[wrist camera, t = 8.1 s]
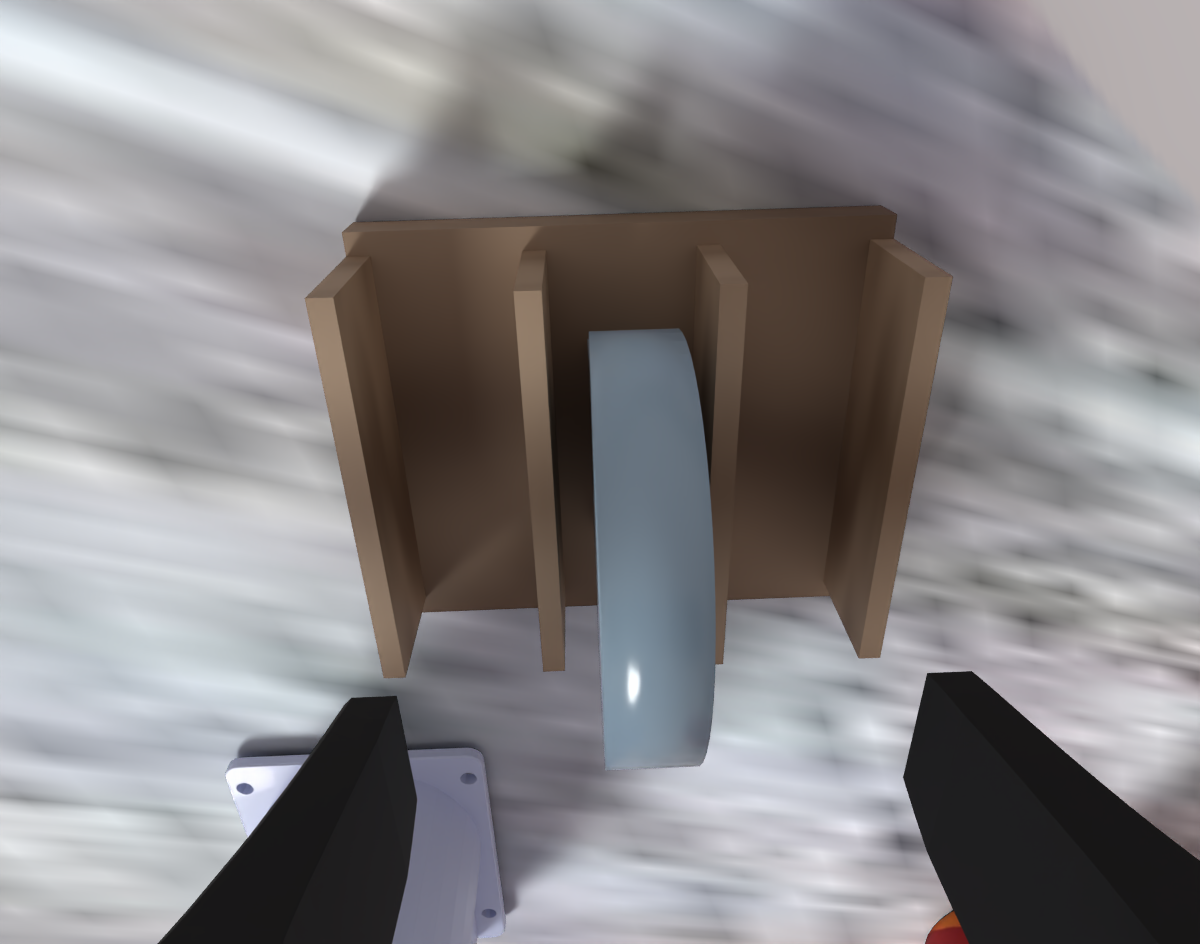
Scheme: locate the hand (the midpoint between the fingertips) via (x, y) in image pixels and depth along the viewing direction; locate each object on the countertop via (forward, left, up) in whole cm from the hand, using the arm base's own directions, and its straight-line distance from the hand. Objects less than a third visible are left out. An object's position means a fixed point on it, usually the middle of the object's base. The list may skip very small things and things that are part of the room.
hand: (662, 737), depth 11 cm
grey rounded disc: (0, 0, -9) cm, 9 cm away
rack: (0, 0, -10) cm, 10 cm away
